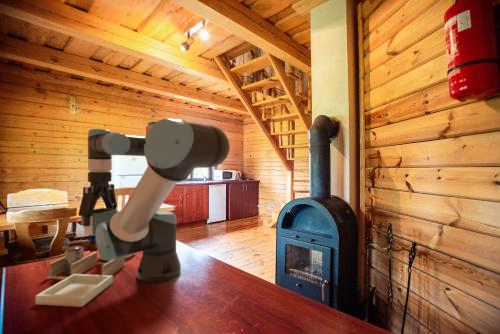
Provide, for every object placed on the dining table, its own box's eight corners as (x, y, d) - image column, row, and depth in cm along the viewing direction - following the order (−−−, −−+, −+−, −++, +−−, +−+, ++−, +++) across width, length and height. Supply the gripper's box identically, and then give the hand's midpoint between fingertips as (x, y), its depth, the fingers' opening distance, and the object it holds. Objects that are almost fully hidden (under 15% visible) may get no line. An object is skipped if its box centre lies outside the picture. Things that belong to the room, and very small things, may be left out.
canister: (86, 267, 95) (87, 245, 94) (75, 274, 89) (75, 250, 89) (73, 267, 95) (73, 245, 95) (61, 273, 89) (61, 250, 89)
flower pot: (118, 233, 93) (118, 209, 93) (95, 239, 85) (95, 213, 85) (103, 230, 97) (103, 207, 97) (79, 235, 89) (79, 211, 89)
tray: (112, 282, 83) (112, 275, 83) (81, 306, 69) (81, 298, 69) (73, 280, 84) (73, 273, 84) (35, 304, 70) (35, 295, 70)
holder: (125, 264, 98) (125, 252, 98) (102, 281, 84) (102, 267, 84) (77, 262, 99) (77, 250, 99) (46, 278, 85) (46, 264, 85)
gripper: (109, 170, 102) (109, 223, 103) (65, 172, 80) (64, 239, 80) (127, 170, 102) (126, 223, 102) (86, 172, 79) (86, 240, 79)
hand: (99, 230), depth 91 cm, fingers closed on flower pot, 10 cm apart
